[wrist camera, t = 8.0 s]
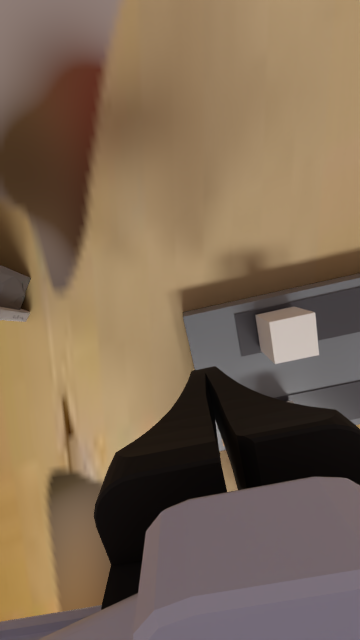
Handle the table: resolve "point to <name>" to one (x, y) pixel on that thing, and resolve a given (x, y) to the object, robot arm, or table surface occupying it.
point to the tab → (287, 334)
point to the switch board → (293, 376)
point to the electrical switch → (12, 295)
